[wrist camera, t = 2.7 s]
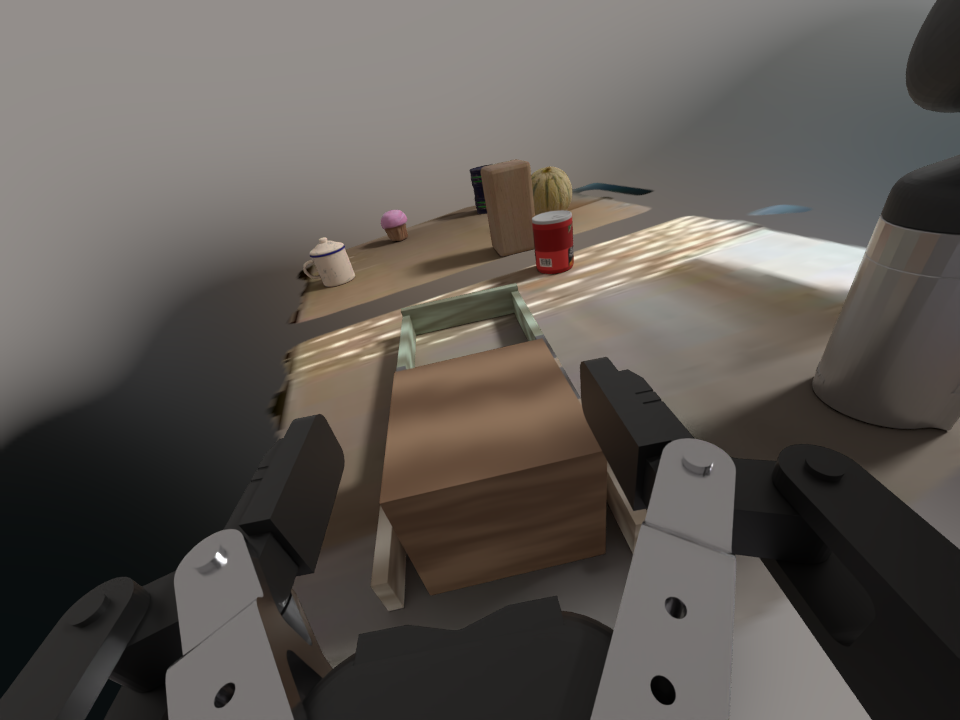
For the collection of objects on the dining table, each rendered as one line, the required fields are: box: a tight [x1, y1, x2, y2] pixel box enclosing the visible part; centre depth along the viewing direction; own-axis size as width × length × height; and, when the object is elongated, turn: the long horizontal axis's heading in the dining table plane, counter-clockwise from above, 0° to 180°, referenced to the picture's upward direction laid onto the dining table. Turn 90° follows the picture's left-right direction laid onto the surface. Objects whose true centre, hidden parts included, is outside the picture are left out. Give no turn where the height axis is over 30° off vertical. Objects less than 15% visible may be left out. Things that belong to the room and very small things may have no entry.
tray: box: [371, 283, 647, 611], centre depth 45 cm, size 45×20×5 cm, turn 8°
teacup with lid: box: [303, 237, 355, 287], centre depth 96 cm, size 12×9×12 cm
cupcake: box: [381, 210, 408, 241], centre depth 123 cm, size 9×9×10 cm
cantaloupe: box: [531, 167, 572, 216], centre depth 109 cm, size 15×15×15 cm
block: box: [481, 159, 535, 257], centre depth 89 cm, size 10×10×20 cm
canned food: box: [532, 210, 574, 274], centre depth 76 cm, size 8×8×11 cm
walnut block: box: [379, 338, 607, 596], centre depth 31 cm, size 14×14×12 cm
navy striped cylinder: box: [470, 164, 493, 214], centre depth 136 cm, size 10×10×15 cm
